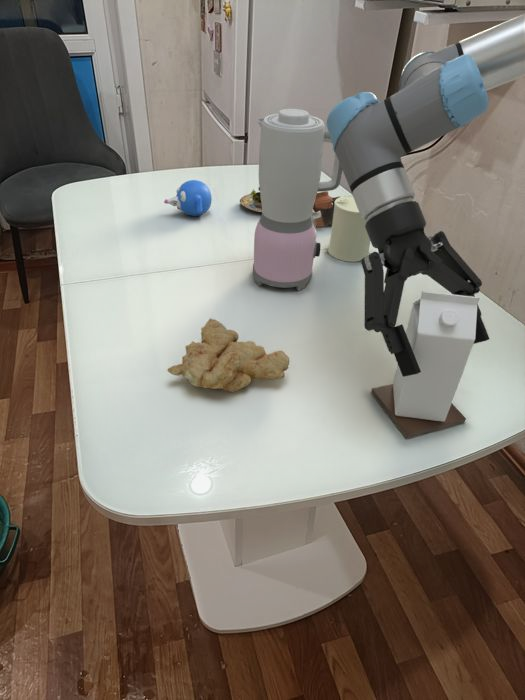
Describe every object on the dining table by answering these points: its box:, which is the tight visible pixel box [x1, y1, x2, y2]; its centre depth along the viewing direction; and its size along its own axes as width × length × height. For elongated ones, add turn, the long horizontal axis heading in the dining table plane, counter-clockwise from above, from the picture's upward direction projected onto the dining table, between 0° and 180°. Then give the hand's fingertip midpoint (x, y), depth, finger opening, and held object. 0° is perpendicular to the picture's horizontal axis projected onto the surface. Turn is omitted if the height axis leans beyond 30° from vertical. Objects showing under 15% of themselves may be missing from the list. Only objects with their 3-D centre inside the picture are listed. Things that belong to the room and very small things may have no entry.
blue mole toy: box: [163, 179, 213, 217], centre depth 126 cm, size 12×12×8 cm
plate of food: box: [239, 186, 262, 213], centre depth 132 cm, size 12×12×8 cm
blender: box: [252, 108, 343, 291], centre depth 96 cm, size 16×12×32 cm
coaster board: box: [370, 383, 467, 440], centre depth 77 cm, size 10×10×1 cm
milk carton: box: [392, 290, 481, 422], centre depth 71 cm, size 7×7×19 cm
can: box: [327, 195, 371, 263], centre depth 112 cm, size 9×9×12 cm
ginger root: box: [167, 318, 290, 393], centre depth 79 cm, size 16×16×8 cm
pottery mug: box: [312, 191, 340, 229], centre depth 128 cm, size 12×10×8 cm
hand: (447, 357), depth 69 cm, fingers open, 13 cm apart
